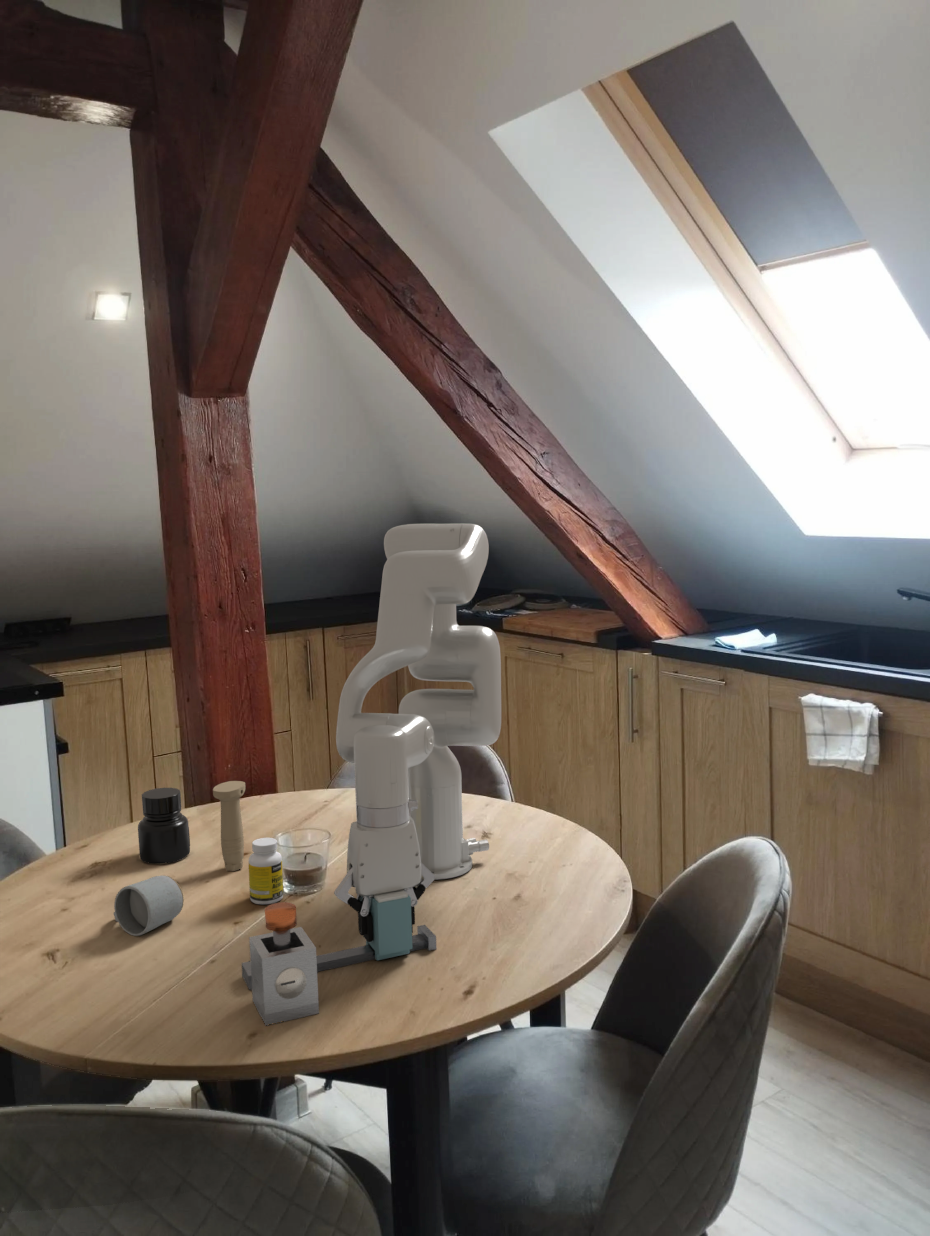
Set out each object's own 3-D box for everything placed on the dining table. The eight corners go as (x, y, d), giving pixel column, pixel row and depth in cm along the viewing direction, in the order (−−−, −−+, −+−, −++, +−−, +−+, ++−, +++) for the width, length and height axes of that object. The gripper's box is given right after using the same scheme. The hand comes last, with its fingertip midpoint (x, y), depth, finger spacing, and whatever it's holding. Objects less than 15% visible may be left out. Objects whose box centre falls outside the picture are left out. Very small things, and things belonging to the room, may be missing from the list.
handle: (212, 874, 189) (207, 790, 187) (231, 861, 195) (226, 780, 193) (237, 876, 187) (232, 792, 185) (255, 863, 193) (250, 782, 191)
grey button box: (304, 990, 146) (301, 926, 145) (319, 1014, 140) (316, 948, 138) (252, 1001, 143) (249, 937, 142) (266, 1027, 137) (262, 960, 136)
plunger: (294, 957, 144) (291, 900, 142) (302, 970, 140) (299, 911, 139) (264, 964, 142) (261, 905, 141) (272, 976, 138) (268, 917, 137)
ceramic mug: (189, 920, 170) (185, 873, 169) (150, 940, 163) (146, 891, 162) (140, 909, 175) (136, 863, 174) (100, 928, 168) (96, 881, 167)
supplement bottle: (276, 906, 174) (273, 848, 173) (245, 904, 175) (241, 846, 174) (288, 893, 179) (285, 836, 178) (257, 891, 181) (254, 835, 179)
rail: (425, 937, 162) (424, 924, 161) (436, 949, 158) (436, 936, 157) (242, 976, 151) (241, 963, 150) (249, 990, 147) (248, 976, 146)
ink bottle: (200, 849, 201) (196, 786, 200) (179, 866, 193) (175, 801, 191) (151, 847, 203) (147, 785, 201) (129, 864, 194) (124, 799, 193)
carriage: (395, 937, 161) (393, 878, 160) (412, 956, 155) (410, 894, 153) (363, 944, 159) (361, 884, 158) (379, 964, 153) (377, 901, 151)
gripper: (428, 797, 161) (432, 913, 163) (316, 815, 154) (322, 936, 156) (448, 811, 154) (451, 932, 156) (332, 830, 147) (338, 957, 150)
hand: (387, 933), depth 156 cm, fingers open, 5 cm apart
